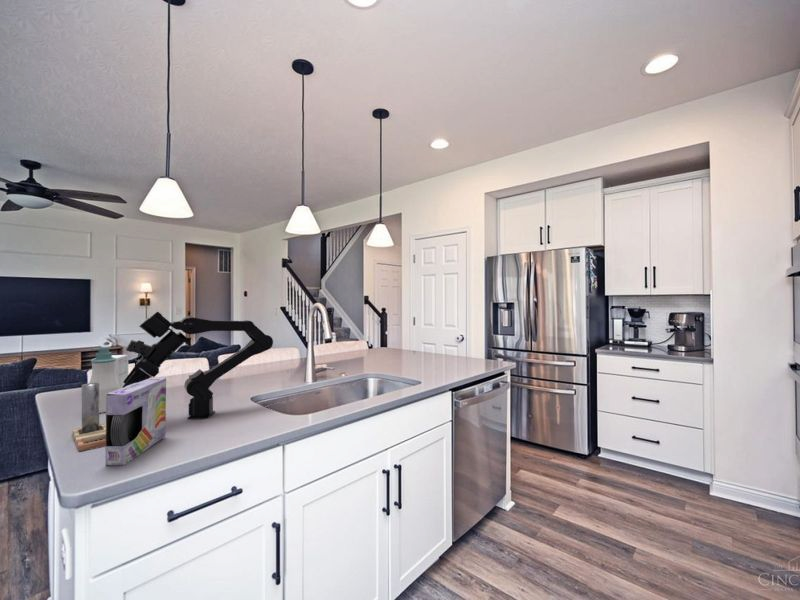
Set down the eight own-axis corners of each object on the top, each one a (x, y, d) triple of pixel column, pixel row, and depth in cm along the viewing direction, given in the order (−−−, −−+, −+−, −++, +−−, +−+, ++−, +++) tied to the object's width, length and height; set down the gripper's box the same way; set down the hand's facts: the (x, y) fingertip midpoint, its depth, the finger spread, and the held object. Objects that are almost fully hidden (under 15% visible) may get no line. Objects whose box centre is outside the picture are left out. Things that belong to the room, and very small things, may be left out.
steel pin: (102, 432, 110) (102, 382, 110) (93, 437, 106) (92, 385, 106) (88, 432, 109) (88, 383, 109) (78, 437, 105) (78, 386, 105)
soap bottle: (80, 412, 130) (79, 348, 130) (110, 405, 139) (110, 345, 139) (96, 415, 126) (96, 350, 126) (126, 407, 135) (126, 346, 135)
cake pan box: (122, 467, 86) (122, 393, 86) (99, 468, 85) (99, 393, 86) (167, 437, 105) (167, 376, 105) (149, 438, 105) (149, 376, 105)
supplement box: (104, 394, 156) (104, 355, 156) (129, 392, 158) (129, 354, 158) (91, 400, 147) (91, 358, 147) (117, 398, 149) (117, 357, 149)
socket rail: (114, 443, 100) (114, 438, 101) (78, 451, 95) (78, 446, 95) (104, 428, 113) (104, 423, 113) (72, 434, 108) (72, 429, 108)
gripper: (144, 329, 123) (102, 365, 116) (145, 332, 108) (97, 374, 101) (171, 350, 128) (133, 386, 121) (176, 356, 113) (132, 397, 106)
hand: (124, 385), depth 112 cm, fingers open, 9 cm apart
